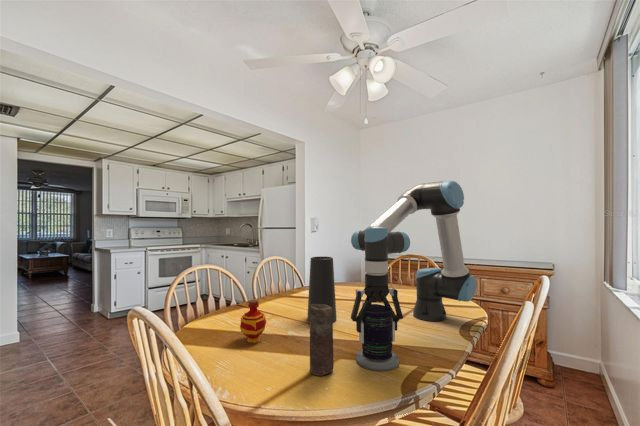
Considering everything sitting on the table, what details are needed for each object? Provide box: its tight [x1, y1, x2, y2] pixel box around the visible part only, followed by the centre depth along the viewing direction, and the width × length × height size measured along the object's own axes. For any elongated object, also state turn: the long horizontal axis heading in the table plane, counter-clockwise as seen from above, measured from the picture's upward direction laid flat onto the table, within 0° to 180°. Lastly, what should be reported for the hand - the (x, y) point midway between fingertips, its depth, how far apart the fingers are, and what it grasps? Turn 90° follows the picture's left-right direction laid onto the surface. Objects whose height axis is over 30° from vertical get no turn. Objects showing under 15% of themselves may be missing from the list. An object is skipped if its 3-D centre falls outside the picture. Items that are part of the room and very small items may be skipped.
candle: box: [309, 304, 335, 377], centre depth 95 cm, size 8×7×20 cm
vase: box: [306, 256, 337, 323], centre depth 144 cm, size 14×14×29 cm
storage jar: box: [361, 303, 393, 361], centre depth 101 cm, size 10×10×15 cm
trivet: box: [355, 349, 400, 372], centre depth 101 cm, size 14×14×1 cm
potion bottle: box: [239, 299, 267, 343], centre depth 119 cm, size 10×10×15 cm
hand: (377, 341), depth 101 cm, fingers closed on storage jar, 10 cm apart
